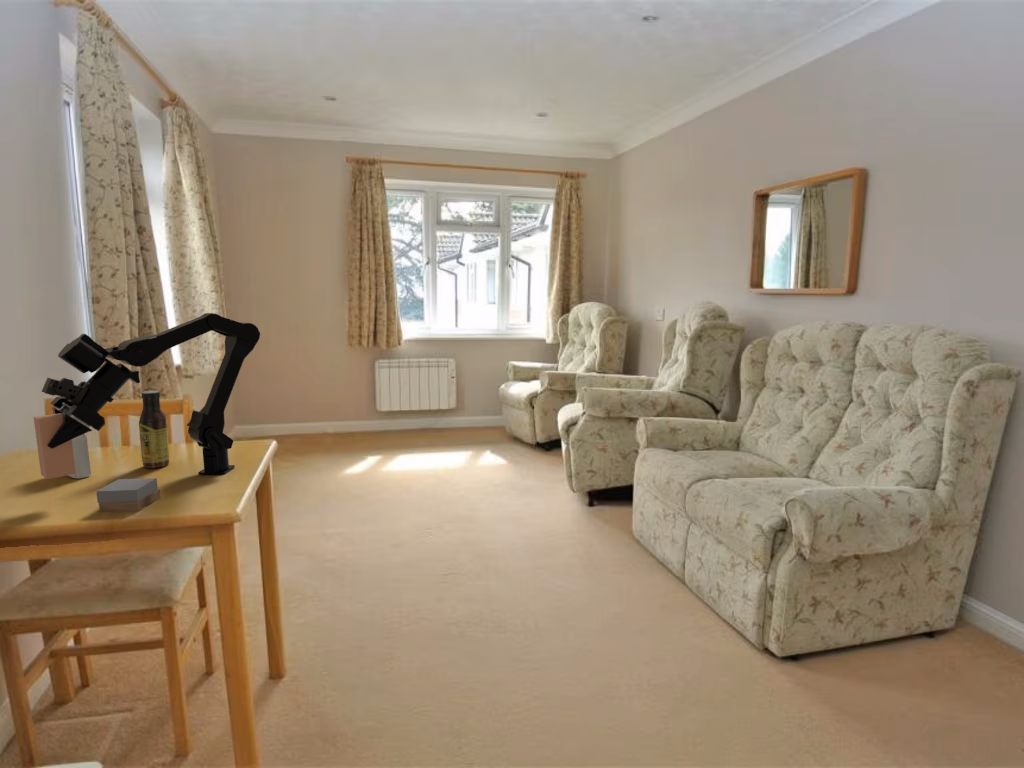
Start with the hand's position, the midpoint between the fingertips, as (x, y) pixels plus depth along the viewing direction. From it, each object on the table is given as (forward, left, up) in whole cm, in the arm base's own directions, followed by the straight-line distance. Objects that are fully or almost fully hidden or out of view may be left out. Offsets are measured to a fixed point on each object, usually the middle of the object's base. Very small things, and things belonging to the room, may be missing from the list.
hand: (46, 445), depth 124 cm
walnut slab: (-1, +16, -14) cm, 21 cm away
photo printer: (-23, -11, -14) cm, 29 cm away
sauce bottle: (-30, +5, -14) cm, 33 cm away
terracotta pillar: (-1, +1, -7) cm, 7 cm away
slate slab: (-1, +15, -11) cm, 19 cm away
